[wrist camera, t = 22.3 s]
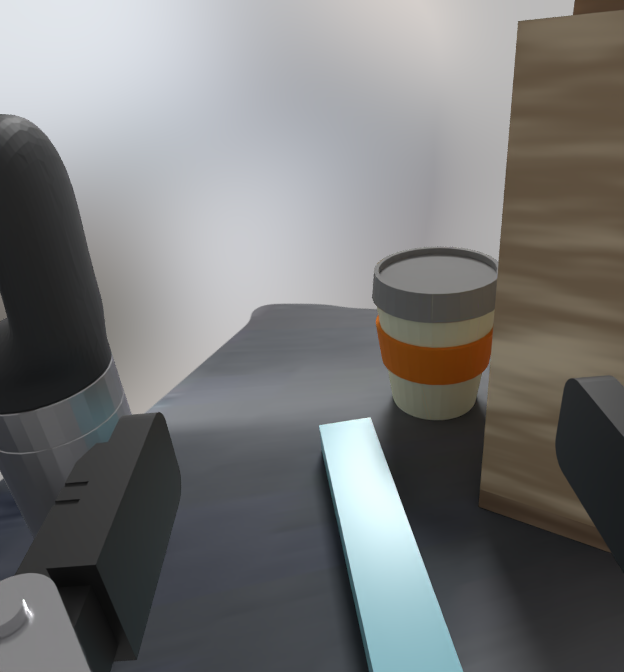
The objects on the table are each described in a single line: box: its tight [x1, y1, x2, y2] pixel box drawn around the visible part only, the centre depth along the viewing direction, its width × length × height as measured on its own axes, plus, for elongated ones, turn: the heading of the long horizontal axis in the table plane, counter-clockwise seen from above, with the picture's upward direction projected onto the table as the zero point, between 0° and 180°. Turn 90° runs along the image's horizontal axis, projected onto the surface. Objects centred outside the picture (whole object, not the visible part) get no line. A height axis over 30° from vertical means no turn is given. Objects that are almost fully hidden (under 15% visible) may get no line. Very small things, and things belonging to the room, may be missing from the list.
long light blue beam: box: [319, 418, 463, 672], centre depth 41 cm, size 22×5×15 cm
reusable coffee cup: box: [372, 247, 499, 420], centre depth 55 cm, size 13×13×15 cm
